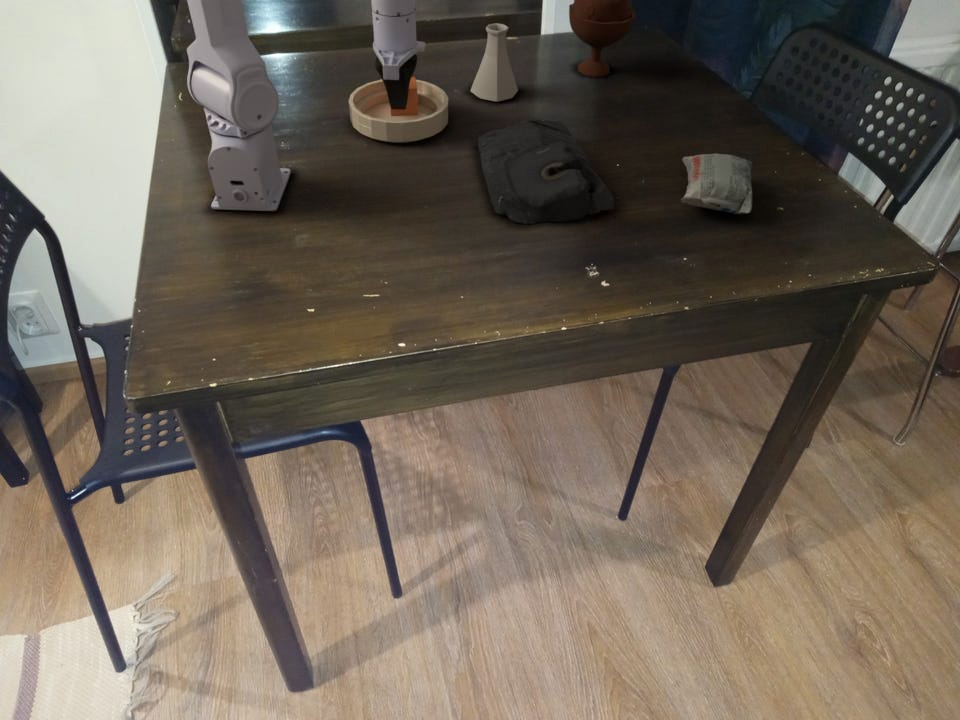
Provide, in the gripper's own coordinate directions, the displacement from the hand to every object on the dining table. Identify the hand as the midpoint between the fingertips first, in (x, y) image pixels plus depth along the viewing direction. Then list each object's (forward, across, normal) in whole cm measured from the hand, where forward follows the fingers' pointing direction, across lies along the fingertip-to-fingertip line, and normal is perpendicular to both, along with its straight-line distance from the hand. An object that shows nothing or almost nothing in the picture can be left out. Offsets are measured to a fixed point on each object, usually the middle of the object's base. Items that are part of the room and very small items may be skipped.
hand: (398, 108), depth 101 cm
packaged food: (+2, -18, -42) cm, 46 cm away
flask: (+2, +11, -14) cm, 18 cm away
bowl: (+2, 0, 0) cm, 2 cm away
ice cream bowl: (+2, +21, -31) cm, 38 cm away
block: (+2, +3, 0) cm, 3 cm away
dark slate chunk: (+2, -14, -20) cm, 24 cm away
